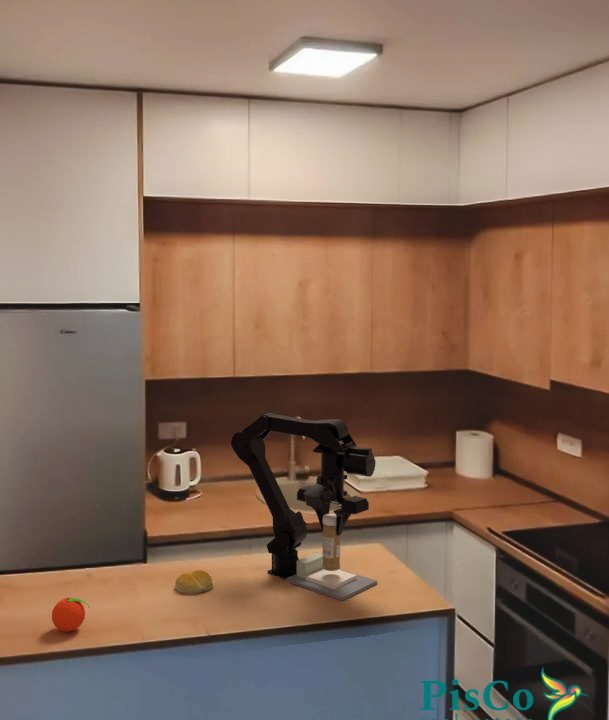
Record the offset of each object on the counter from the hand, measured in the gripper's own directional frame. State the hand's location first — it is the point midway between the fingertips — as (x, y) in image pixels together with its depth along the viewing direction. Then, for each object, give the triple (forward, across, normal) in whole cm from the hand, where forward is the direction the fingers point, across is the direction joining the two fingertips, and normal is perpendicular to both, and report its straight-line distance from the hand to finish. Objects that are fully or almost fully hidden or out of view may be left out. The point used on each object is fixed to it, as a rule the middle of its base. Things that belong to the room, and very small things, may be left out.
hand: (331, 533), depth 200 cm
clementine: (+13, -25, -58) cm, 64 cm away
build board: (+13, 0, 0) cm, 13 cm away
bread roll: (+13, -23, -25) cm, 36 cm away
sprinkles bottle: (+9, 0, 0) cm, 9 cm away
